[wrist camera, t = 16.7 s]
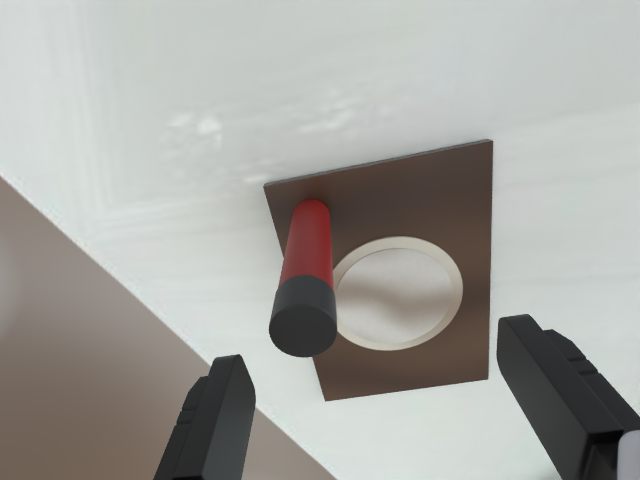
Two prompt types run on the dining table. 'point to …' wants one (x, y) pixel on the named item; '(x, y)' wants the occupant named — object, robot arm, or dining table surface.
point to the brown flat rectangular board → (403, 268)
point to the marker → (306, 286)
